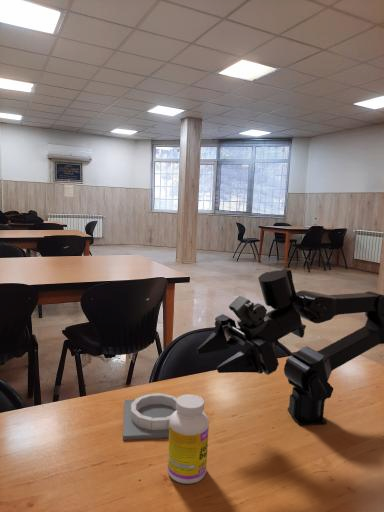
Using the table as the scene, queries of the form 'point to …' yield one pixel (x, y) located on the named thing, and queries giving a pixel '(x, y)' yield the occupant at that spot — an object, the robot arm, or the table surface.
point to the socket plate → (148, 416)
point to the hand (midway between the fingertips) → (206, 360)
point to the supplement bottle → (188, 440)
